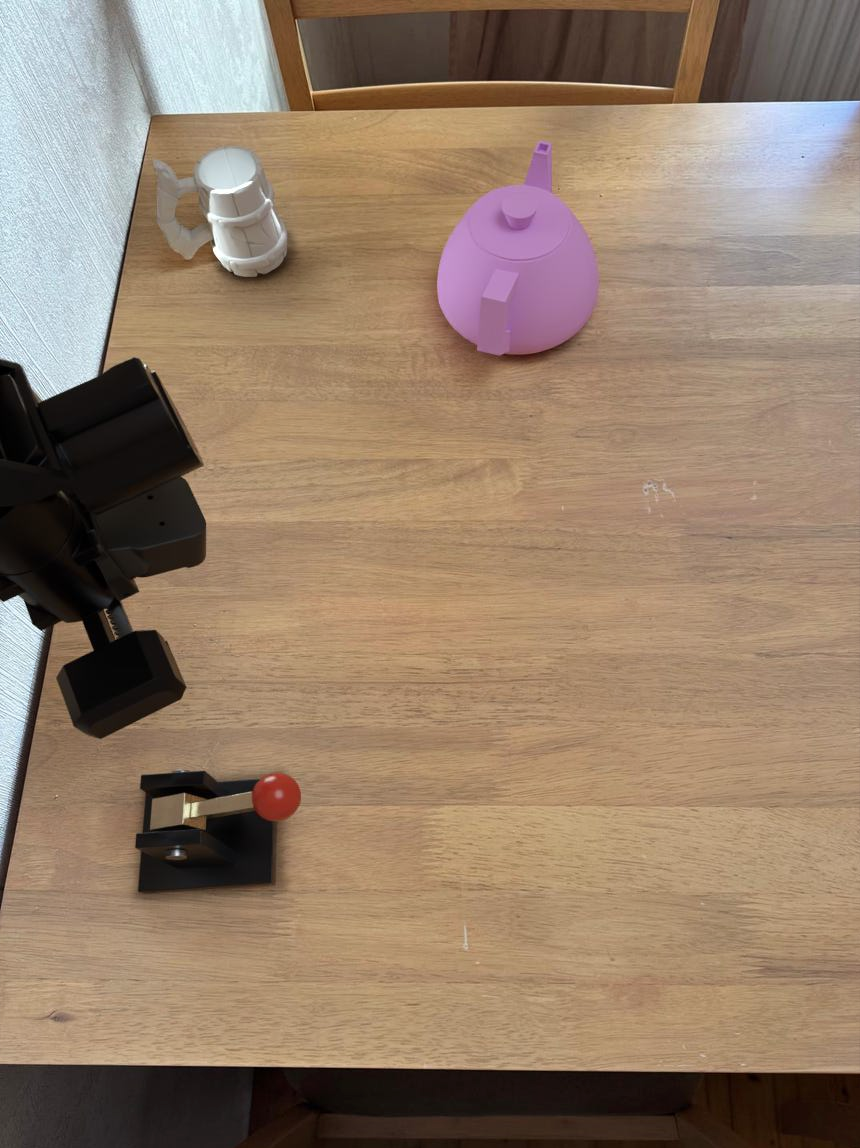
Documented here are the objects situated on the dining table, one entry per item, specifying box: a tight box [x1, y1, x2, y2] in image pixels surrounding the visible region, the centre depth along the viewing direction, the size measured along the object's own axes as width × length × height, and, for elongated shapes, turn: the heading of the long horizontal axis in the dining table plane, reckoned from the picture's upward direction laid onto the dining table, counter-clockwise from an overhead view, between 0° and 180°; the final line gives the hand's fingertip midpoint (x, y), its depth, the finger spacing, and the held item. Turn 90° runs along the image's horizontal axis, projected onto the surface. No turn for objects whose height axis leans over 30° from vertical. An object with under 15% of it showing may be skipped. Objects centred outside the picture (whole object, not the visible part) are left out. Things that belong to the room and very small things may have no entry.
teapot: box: [436, 139, 600, 356], centre depth 85 cm, size 22×16×12 cm
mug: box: [151, 144, 289, 278], centre depth 88 cm, size 8×12×12 cm, turn 107°
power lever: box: [150, 772, 302, 832], centre depth 62 cm, size 11×3×3 cm, turn 94°
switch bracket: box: [134, 769, 278, 895], centre depth 66 cm, size 10×8×10 cm
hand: (138, 636), depth 63 cm, fingers open, 9 cm apart
